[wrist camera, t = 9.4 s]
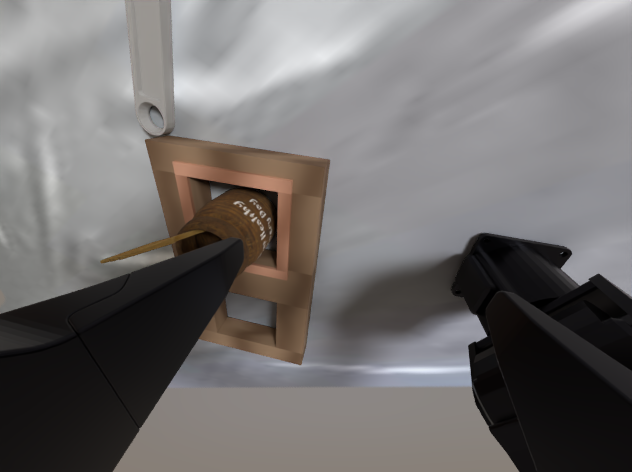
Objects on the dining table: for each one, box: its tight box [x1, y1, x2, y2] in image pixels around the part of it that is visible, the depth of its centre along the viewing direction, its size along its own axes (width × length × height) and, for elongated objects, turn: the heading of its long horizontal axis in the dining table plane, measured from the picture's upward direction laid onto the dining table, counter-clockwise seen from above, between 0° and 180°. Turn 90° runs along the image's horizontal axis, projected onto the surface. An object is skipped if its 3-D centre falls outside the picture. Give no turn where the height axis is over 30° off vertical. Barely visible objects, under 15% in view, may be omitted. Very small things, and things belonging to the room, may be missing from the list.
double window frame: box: [145, 135, 330, 365], centre depth 24 cm, size 14×24×3 cm, turn 174°
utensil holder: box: [100, 187, 278, 279], centre depth 17 cm, size 6×6×12 cm
